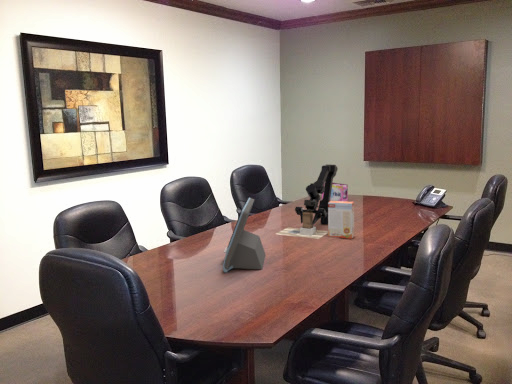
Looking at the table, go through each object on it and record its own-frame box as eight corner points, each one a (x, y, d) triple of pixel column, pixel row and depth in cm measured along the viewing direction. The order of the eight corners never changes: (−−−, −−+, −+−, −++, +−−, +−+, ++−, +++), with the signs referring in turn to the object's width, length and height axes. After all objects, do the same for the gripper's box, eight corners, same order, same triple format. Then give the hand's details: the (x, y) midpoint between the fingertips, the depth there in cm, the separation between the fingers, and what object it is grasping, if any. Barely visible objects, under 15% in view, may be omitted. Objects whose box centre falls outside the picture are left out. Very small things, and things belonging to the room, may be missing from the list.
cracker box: (354, 236, 279) (354, 201, 276) (351, 239, 274) (352, 203, 270) (330, 234, 285) (330, 200, 282) (328, 237, 280) (327, 201, 276)
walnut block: (305, 232, 289) (305, 211, 287) (312, 233, 287) (312, 212, 285) (303, 234, 285) (302, 212, 283) (310, 235, 283) (309, 213, 281)
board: (287, 228, 304) (287, 227, 304) (329, 232, 290) (329, 231, 290) (274, 235, 288) (274, 233, 288) (318, 239, 275) (318, 238, 275)
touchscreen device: (229, 251, 256) (229, 196, 251) (266, 252, 255) (266, 197, 250) (219, 273, 222) (218, 209, 217) (261, 274, 220) (262, 210, 215)
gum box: (349, 201, 388) (349, 184, 386) (342, 202, 384) (342, 185, 381) (327, 197, 407) (327, 181, 405) (321, 198, 402) (321, 182, 400)
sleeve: (304, 231, 291) (304, 225, 291) (315, 233, 288) (315, 226, 287) (300, 234, 285) (299, 228, 284) (311, 235, 282) (311, 229, 281)
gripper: (295, 193, 290) (288, 214, 283) (324, 195, 282) (318, 217, 274) (301, 203, 298) (294, 225, 291) (329, 205, 290) (323, 227, 282)
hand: (306, 223), depth 284 cm, fingers open, 7 cm apart
